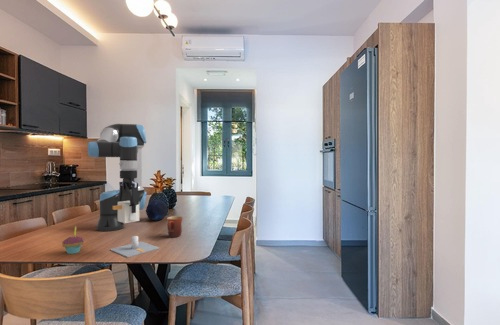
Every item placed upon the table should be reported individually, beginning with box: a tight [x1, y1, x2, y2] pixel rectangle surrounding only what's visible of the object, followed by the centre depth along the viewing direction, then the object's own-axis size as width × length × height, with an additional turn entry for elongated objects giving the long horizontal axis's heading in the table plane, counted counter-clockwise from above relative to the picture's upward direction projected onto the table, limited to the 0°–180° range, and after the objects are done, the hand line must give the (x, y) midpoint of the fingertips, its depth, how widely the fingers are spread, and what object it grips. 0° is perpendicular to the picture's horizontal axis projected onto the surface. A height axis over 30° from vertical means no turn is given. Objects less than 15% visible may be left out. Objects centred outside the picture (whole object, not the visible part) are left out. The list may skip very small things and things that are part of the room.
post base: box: [109, 235, 160, 258], centre depth 135 cm, size 16×16×6 cm
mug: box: [166, 215, 184, 238], centre depth 157 cm, size 12×9×10 cm
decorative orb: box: [145, 199, 168, 222], centre depth 200 cm, size 14×15×15 cm
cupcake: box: [61, 225, 85, 255], centre depth 131 cm, size 9×8×12 cm
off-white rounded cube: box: [113, 201, 140, 224], centre depth 132 cm, size 10×7×9 cm, turn 140°
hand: (128, 218), depth 133 cm, fingers closed on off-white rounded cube, 7 cm apart
